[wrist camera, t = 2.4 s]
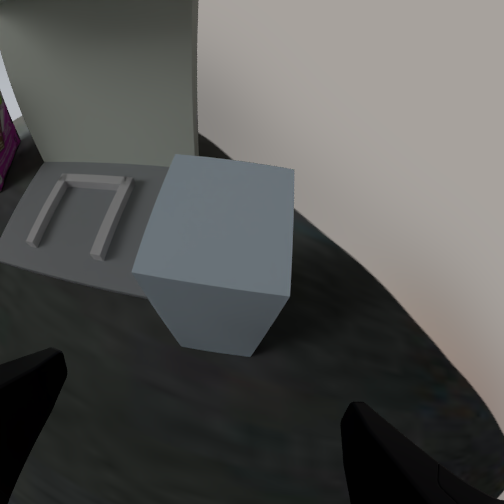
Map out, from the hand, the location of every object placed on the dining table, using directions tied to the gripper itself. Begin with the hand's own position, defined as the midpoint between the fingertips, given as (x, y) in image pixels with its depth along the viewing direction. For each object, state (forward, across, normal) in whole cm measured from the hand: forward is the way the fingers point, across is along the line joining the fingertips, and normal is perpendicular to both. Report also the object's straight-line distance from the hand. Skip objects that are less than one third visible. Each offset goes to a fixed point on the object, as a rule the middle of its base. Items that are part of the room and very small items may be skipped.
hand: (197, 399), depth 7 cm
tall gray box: (+13, 0, +4) cm, 14 cm away
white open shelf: (+18, +15, -1) cm, 24 cm away
